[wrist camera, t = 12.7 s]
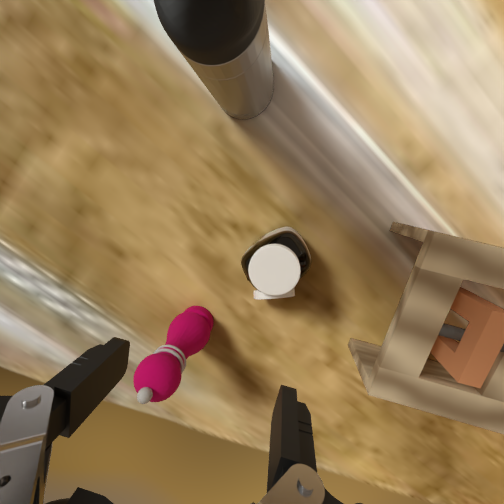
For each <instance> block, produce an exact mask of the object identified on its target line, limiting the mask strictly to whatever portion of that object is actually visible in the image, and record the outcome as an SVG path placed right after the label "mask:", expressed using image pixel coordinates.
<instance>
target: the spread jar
mask: <svg viewBox="0 0 504 504" xmlns="http://www.w3.org/2000/svg"><path fill="white" fill-rule="evenodd" d="M241 264H242V268H243V271H244V273H245V275H246V277H247V279H248V280H249V282H250V283H251V284H252V285H253V286H254V287H255V288H256V289H257V290H255V291H254V299H276V298H286V297H293V296H295V291H294V287H295V286H296V284H297V283H298V281H299V279H300V278H301V277H302V276H303V275H304V274H305V273H306V272H307V271H308V269H309V268H310V265H311V256H310V253H309V250H308V248H307V245H306V243H305V242H304V240H303V238H302V237H301V236H300V234H299V233H298V232H297V231H296V230H295V229H293V228H291V227H282V228H279V229H276V230H273V231H271V232H269V233H267V234H265V235H264V236H262V237H261V238H260V239H258V240H257V241H256V242H255V243H254V244H253V245H251V246H250V247H249V249H248V250H247V251H246V252H245V254H244V255H243V257H242V260H241Z"/></svg>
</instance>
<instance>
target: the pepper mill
mask: <svg viewBox="0 0 504 504" xmlns="http://www.w3.org/2000/svg"><path fill="white" fill-rule="evenodd" d="M212 328H213V317H212V315H211V313H210V312H209V311H208V310H207V309H205V308H204V307H201V306H192V307H189V308H188V309H186V310H185V311H184V313H182V314H179V315H178V316H177V317H175V319H174V320H173V321H172V323H171V324H170V326H169V329H168V333H167V341H166V344H165V345H162V346H160V347H159V348H157V349H156V351H155V352H154V353H153V354H152V355H149V356H147V357H146V358H145V359H144V360H143V361H141V362H140V364H139V365H138V367H137V369H136V371H135V374H134V387H135V389H136V392H137V393H138V394H137V400H138V402H140V403H141V404H145V403H148V402H149V401H151V402H160V401H163V400H166V399H167V398H169V397H170V396H171V395H172V394H173V393H174V392H175V391H176V390H177V388H178V386H179V384H180V381H181V374H182V372H183V371H184V369H185V367H186V359H187V358H188V357H189V356H191V355H193V354H195V353H197V352H199V351H200V350H201V349H203V348H204V346H205V345H206V344H207V342H208V340H209V338H210V331H211V330H212Z"/></svg>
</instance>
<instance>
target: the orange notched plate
mask: <svg viewBox="0 0 504 504" xmlns="http://www.w3.org/2000/svg"><path fill="white" fill-rule="evenodd" d="M450 309H452V310H453V311H454V312H456V313H457V314H459V315H460V316H462V317H463V318H465V319H466V320H467V321H469V324H468V326H467V328H466V330H465V332H464V334H463V336H462V339H461V341H460V343H458V342H457V341H455V340H454V339H451V338H447V337H443V336H439V335H438V336H437V339H436V341H435V343H434V345H433V347H432V349H431V352H430V353H431V354H432V355H433V356H434V357H435V358H436V359H437V360H438V361H439V363H440V364H441V365H442V366H443V367H444V368H445V369H446V370H447V371H448V372H449V373H450V375H451V376H452V377H453V378H454V379H455V380H456V381H457V382H458V383H461V384H465V385H469V386H473V387H476V388H481V387H482V385H483V383H484V381H485V379H486V377H487V375H488V373H489V371H490V369H491V367H492V365H493V363H494V361H495V360H496V358H497V356H498V354H499V352H500V350H501V348H502V346H503V344H504V309H502V308H500V307H498V306H496V305H495V304H493V303H491V302H489V301H487V300H485V299H483V298H481V297H479V296H477V295H475V294H474V293H472V292H470V291H468V290H466V289H464V288H462V287H460V288H459V290H458V293H457V295H456V297H455V299H454V301H453V304H452V306H451V308H450Z"/></svg>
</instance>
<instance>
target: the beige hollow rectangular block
mask: <svg viewBox="0 0 504 504" xmlns="http://www.w3.org/2000/svg"><path fill="white" fill-rule="evenodd" d="M390 231H392V232H395V233H398V234H401V235H404V236H407V237H410V238H413V239H416V240H419V241H422V242H423V245H422V247H421V250H420V252H419V255H418V257H417V260H416V262H415V264H414V267H413V269H412V272H411V274H410V277H409V279H408V282H407V284H406V287H405V289H404V292H403V294H402V297H401V299H400V302H399V304H398V307H397V309H396V312H395V314H394V317H393V319H392V322H391V324H390V327H389V329H388V332H387V334H386V337H385V339H384V341H383V344H382V346H378V345H374V344H371V343H367V342H363V341H360V340H356V339H353V338H350V341H349V344H348V346H349V349H350V351H351V354H352V356H353V359H354V361H355V363H356V366H357V368H358V371H359V373H360V376H361V378H362V380H363V383H364V385H365V388H366V390H367V393H368V395H370V396H374V397H377V398H381V399H384V400H388V401H391V402H394V403H398V404H401V405H405V406H408V407H412V408H415V409H418V410H422V411H425V412H429V413H432V414H436V415H439V416H442V417H446V418H449V419H453V420H456V421H460V422H463V423H466V424H470V425H473V426H477V427H480V428H484V429H487V430H491V431H494V432H497V433H501V434H504V344H503V346H502V348H501V350H500V352H499V354H498V356H497V358H496V360H495V361H494V363H493V365H492V367H491V369H490V371H489V373H488V375H487V377H486V379H485V381H484V383H483V385H482V387H481V388H476V387H473V386H469V385H465V384H461V383H458V382H457V381H456V380H455V379H454V378H453V377H452V376H451V375H450V373H449V372H448V371H447V370H446V369H445V368H444V367H443V366H442V365H441V364H440V363H439V362H436V361H432V360H429V359H427V358H428V356H429V354H430V352H431V349H432V347H433V345H434V343H435V341H436V339H437V336H438V335H439V336H443V337H447V338H451V339H454V340H458V341H461V339H462V336H463V334H464V332H465V330H466V329H463V328H459V327H455V326H451V325H448V324H444V321H445V319H446V317H447V314H448V312H449V310H450V308H451V306H452V304H453V301H454V299H455V297H456V295H457V293H458V290H459V288H460V286H461V284H462V282H463V280H464V279H465V280H469V281H473V282H477V283H481V284H485V285H489V286H493V287H497V288H501V289H504V248H501V247H497V246H493V245H489V244H485V243H480V242H476V241H472V240H468V239H464V238H459V237H455V236H451V235H447V234H443V233H438V232H434V231H430V230H426V229H422V228H417V227H413V226H409V225H405V224H401V223H396V222H393V223H392V226H391V229H390Z"/></svg>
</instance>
